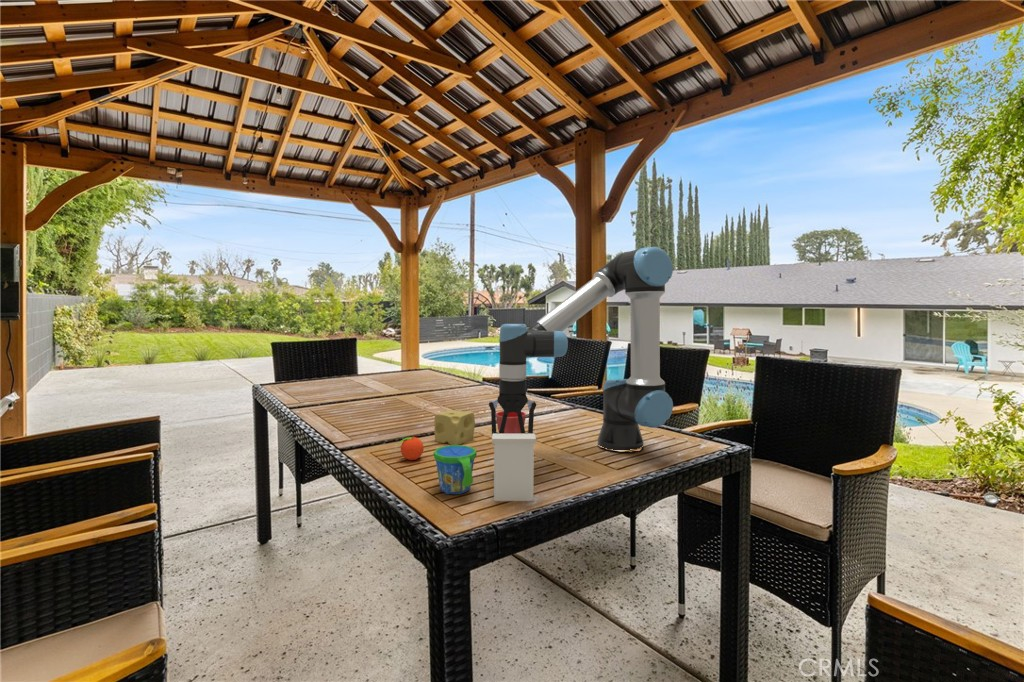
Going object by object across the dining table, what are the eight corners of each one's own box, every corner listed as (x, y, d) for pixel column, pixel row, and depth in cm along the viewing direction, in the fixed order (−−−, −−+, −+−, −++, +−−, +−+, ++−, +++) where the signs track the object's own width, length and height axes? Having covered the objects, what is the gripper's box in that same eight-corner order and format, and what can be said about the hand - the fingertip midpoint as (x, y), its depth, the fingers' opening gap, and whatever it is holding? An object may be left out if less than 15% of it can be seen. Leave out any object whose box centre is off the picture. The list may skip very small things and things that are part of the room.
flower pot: (492, 444, 161) (492, 416, 160) (499, 435, 172) (499, 409, 171) (523, 445, 159) (523, 417, 159) (527, 437, 170) (527, 410, 170)
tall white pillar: (532, 483, 124) (532, 426, 123) (535, 501, 111) (535, 438, 110) (493, 483, 124) (493, 426, 123) (491, 501, 111) (492, 438, 110)
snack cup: (485, 497, 114) (485, 456, 113) (443, 504, 109) (443, 462, 109) (464, 477, 128) (464, 440, 127) (427, 483, 124) (426, 445, 123)
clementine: (398, 464, 138) (398, 441, 138) (395, 458, 145) (395, 435, 144) (425, 461, 141) (425, 438, 141) (421, 455, 148) (421, 433, 147)
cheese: (456, 446, 158) (456, 417, 157) (432, 441, 164) (432, 413, 163) (475, 439, 167) (475, 412, 166) (452, 435, 173) (452, 408, 172)
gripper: (542, 377, 134) (541, 457, 135) (482, 377, 134) (482, 457, 135) (544, 381, 127) (543, 466, 128) (481, 380, 126) (480, 465, 128)
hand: (511, 461), depth 131 cm, fingers closed on rail, 4 cm apart
